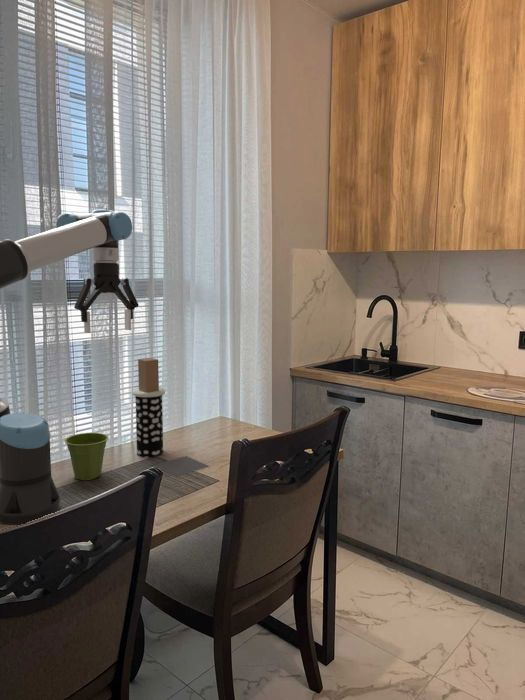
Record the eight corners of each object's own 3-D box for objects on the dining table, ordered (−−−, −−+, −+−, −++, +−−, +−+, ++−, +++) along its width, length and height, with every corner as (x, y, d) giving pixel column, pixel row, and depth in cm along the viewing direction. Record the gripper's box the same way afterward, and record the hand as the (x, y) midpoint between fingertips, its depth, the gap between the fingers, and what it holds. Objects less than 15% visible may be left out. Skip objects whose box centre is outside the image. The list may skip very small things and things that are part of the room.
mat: (176, 477, 153) (176, 476, 152) (153, 466, 161) (153, 465, 161) (209, 467, 161) (209, 466, 161) (186, 457, 169) (186, 455, 169)
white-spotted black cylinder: (166, 450, 175) (165, 391, 172) (159, 459, 167) (157, 397, 164) (141, 449, 176) (140, 390, 173) (133, 458, 168) (131, 396, 165)
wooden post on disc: (143, 399, 162) (142, 363, 160) (126, 393, 169) (125, 359, 167) (171, 393, 169) (170, 359, 167) (153, 388, 176) (153, 355, 174)
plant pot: (116, 477, 153) (115, 439, 151) (76, 487, 145) (74, 448, 143) (99, 465, 161) (97, 429, 160) (59, 475, 154) (58, 437, 152)
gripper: (71, 261, 152) (74, 335, 155) (148, 263, 169) (149, 329, 172) (61, 261, 157) (64, 332, 160) (136, 263, 174) (137, 327, 177)
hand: (108, 331), depth 166 cm, fingers open, 13 cm apart
